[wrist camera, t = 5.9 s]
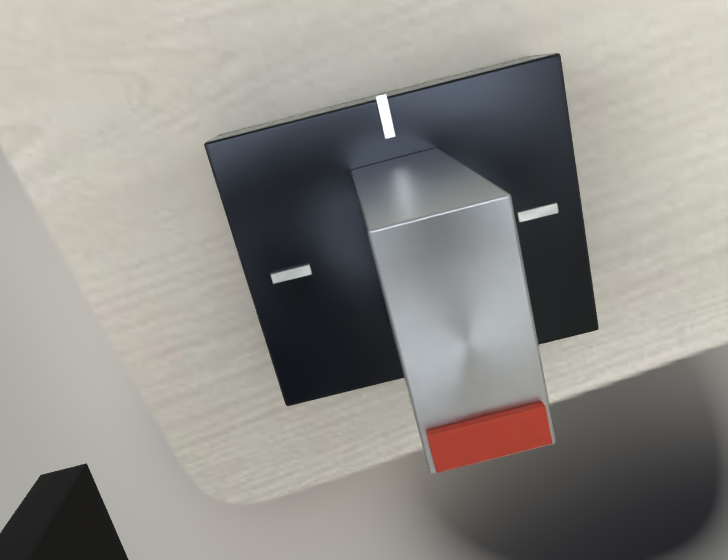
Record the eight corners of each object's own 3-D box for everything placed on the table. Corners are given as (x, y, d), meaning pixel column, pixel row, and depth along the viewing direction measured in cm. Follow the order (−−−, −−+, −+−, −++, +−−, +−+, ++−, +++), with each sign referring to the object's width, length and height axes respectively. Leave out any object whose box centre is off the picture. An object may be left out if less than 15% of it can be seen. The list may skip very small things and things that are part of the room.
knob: (350, 169, 22) (368, 233, 13) (437, 147, 22) (514, 195, 13) (392, 331, 24) (432, 482, 15) (472, 310, 24) (560, 449, 15)
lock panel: (290, 374, 27) (286, 411, 24) (216, 132, 24) (201, 140, 21) (570, 305, 27) (601, 334, 24) (532, 52, 24) (562, 48, 21)
